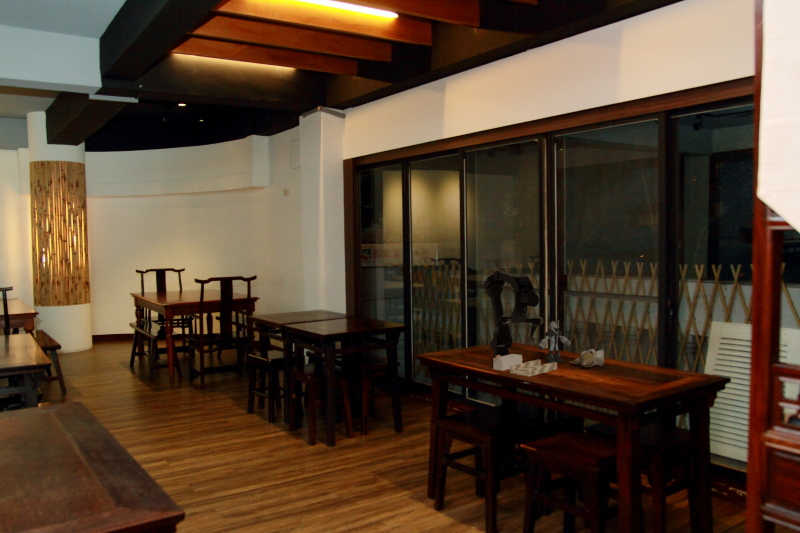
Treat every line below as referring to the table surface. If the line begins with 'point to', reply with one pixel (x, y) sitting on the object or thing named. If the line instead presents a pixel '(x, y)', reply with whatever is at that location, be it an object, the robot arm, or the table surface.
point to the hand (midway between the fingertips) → (520, 339)
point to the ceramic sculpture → (590, 358)
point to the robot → (553, 342)
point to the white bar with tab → (506, 361)
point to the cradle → (532, 368)
